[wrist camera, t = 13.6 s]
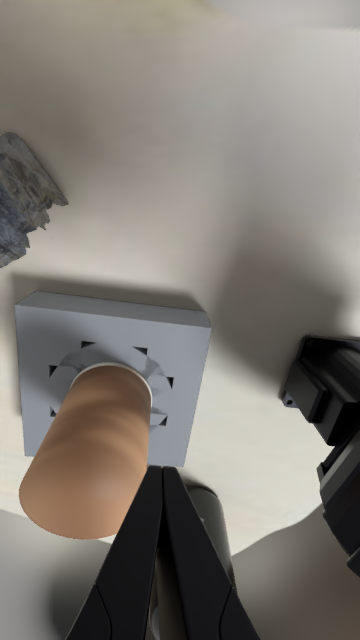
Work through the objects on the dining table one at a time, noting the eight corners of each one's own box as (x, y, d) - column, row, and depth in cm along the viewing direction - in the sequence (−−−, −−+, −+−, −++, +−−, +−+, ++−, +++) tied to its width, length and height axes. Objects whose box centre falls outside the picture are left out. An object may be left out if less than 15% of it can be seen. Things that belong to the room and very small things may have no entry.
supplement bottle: (183, 473, 27) (196, 662, 16) (235, 502, 29) (279, 689, 18) (140, 513, 29) (124, 708, 18) (191, 538, 30) (206, 729, 19)
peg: (157, 348, 21) (152, 458, 12) (149, 408, 23) (139, 542, 14) (81, 339, 21) (13, 448, 11) (79, 402, 23) (21, 537, 13)
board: (205, 311, 21) (212, 328, 18) (181, 437, 25) (183, 466, 22) (35, 290, 20) (14, 304, 17) (41, 426, 24) (24, 456, 21)
